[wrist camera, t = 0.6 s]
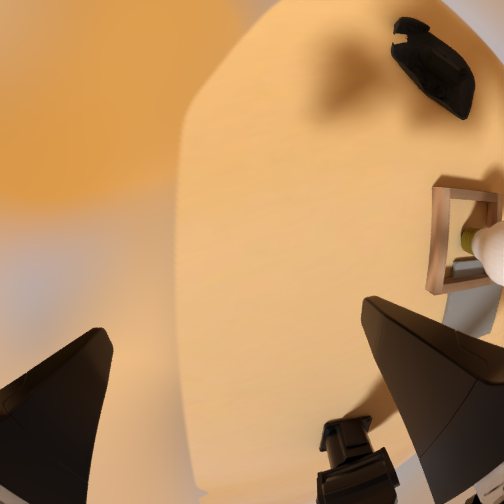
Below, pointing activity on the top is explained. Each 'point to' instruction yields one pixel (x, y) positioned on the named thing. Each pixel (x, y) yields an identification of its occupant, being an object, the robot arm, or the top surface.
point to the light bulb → (487, 249)
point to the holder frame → (441, 233)
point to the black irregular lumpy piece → (434, 67)
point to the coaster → (472, 302)
